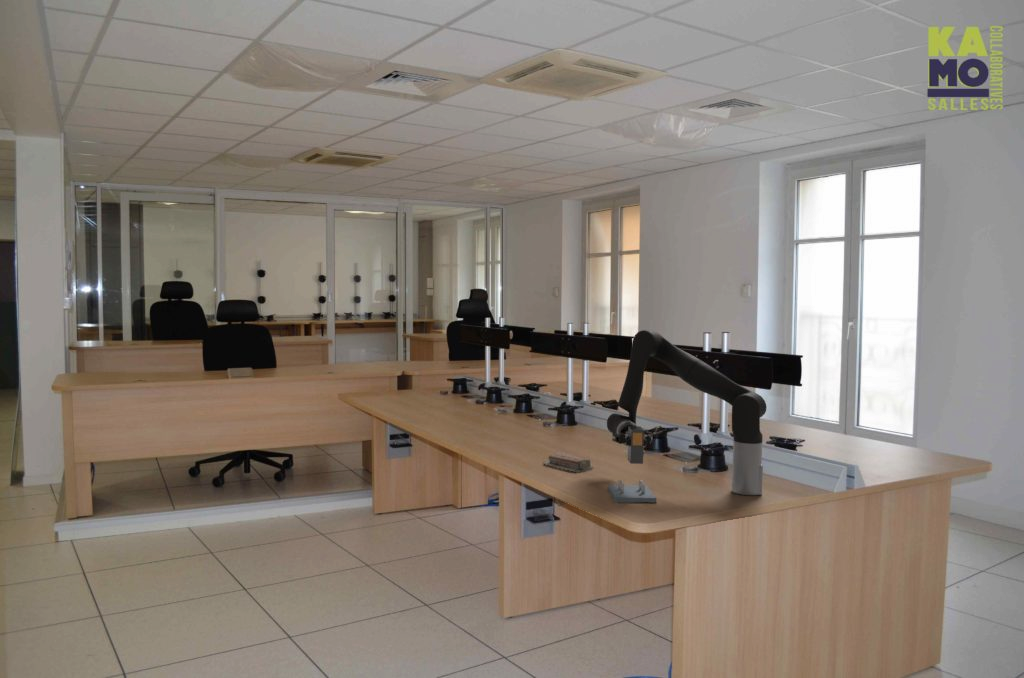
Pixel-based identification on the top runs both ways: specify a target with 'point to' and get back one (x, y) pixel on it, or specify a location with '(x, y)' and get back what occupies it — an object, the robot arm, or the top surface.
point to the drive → (636, 444)
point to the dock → (631, 492)
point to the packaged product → (569, 462)
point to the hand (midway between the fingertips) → (637, 442)
